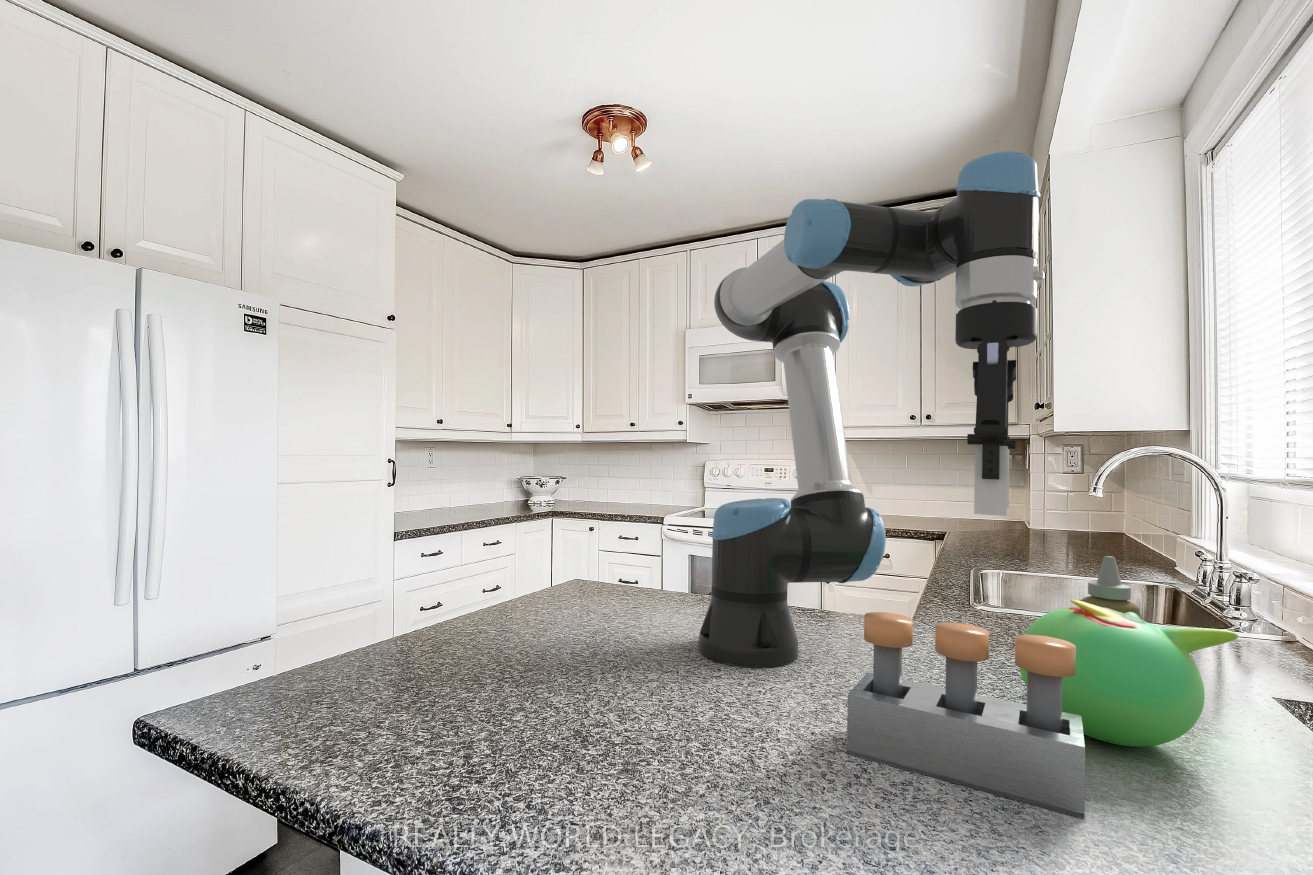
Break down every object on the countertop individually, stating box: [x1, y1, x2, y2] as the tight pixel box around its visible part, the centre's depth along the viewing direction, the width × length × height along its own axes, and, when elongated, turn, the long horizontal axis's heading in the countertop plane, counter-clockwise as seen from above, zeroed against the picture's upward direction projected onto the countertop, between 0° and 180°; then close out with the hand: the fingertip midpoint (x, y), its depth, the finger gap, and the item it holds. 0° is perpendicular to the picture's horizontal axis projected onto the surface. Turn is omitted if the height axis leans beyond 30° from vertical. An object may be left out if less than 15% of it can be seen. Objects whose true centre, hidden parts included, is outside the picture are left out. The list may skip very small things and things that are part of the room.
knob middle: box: [934, 622, 990, 715], centre depth 62 cm, size 5×5×8 cm
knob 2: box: [1014, 634, 1076, 734], centre depth 58 cm, size 5×5×8 cm
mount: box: [846, 672, 1086, 820], centre depth 62 cm, size 20×8×6 cm, turn 58°
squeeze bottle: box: [1079, 555, 1142, 620], centre depth 83 cm, size 8×8×18 cm
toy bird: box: [1019, 598, 1239, 747], centre depth 70 cm, size 18×17×15 cm
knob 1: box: [863, 611, 914, 699], centre depth 66 cm, size 5×5×8 cm
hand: (992, 510), depth 65 cm, fingers open, 13 cm apart
